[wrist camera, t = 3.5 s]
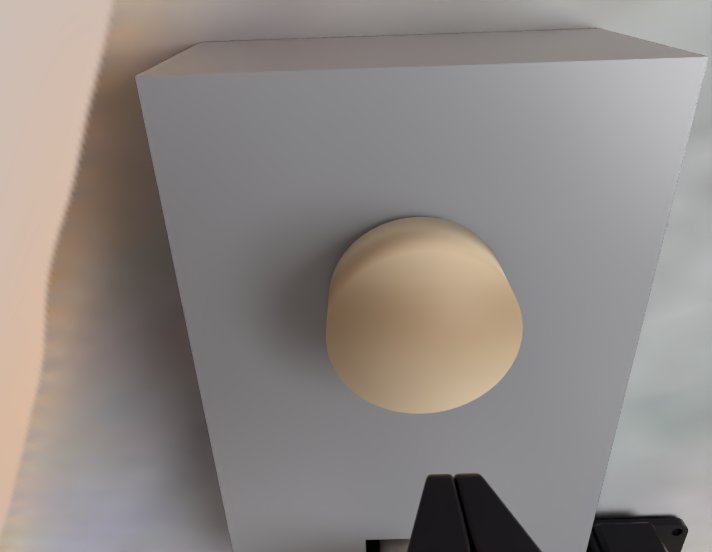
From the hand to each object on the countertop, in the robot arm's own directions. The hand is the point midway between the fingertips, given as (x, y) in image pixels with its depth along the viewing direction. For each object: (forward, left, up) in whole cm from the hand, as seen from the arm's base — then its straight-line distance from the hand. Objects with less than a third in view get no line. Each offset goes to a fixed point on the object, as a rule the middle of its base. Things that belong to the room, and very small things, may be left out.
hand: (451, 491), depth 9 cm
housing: (-6, 0, -12) cm, 14 cm away
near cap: (0, 0, -11) cm, 11 cm away
